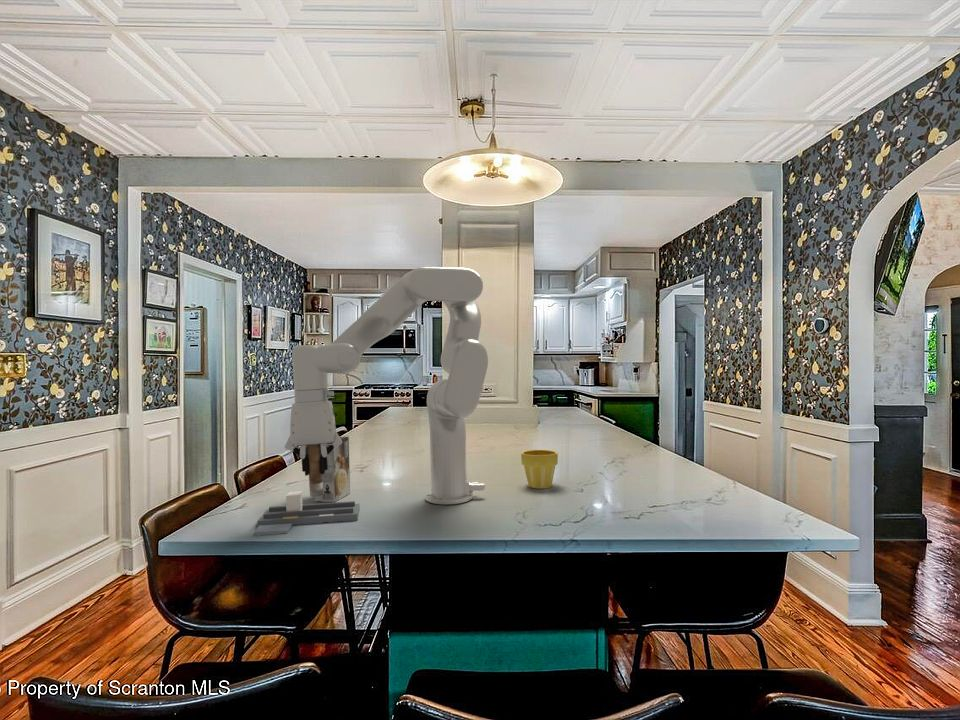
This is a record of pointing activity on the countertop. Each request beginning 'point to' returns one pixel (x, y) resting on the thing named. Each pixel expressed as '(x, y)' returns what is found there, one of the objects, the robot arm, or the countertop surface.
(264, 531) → the tool mat
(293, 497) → the switch tab
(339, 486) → the coffee box
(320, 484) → the brown rod
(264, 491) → the countertop surface
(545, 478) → the plant pot
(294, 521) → the switch panel
